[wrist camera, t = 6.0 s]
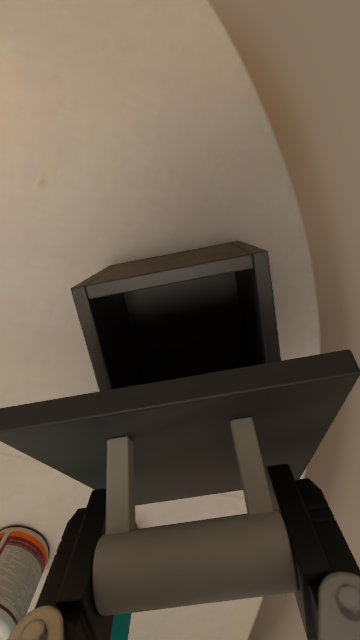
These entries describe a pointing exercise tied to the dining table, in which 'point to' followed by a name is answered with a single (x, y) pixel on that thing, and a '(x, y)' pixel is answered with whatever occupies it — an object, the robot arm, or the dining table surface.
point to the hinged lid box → (179, 315)
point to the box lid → (189, 473)
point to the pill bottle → (19, 574)
